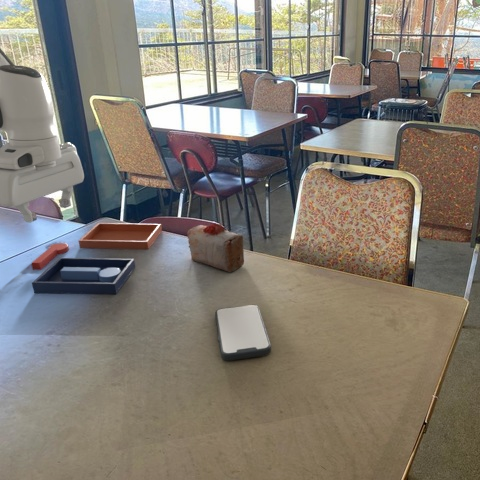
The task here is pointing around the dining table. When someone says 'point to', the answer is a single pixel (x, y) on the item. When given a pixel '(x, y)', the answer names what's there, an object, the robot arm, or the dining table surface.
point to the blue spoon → (90, 274)
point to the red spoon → (49, 255)
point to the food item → (216, 247)
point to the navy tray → (55, 284)
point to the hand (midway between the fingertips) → (49, 213)
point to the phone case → (241, 332)
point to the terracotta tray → (121, 236)
